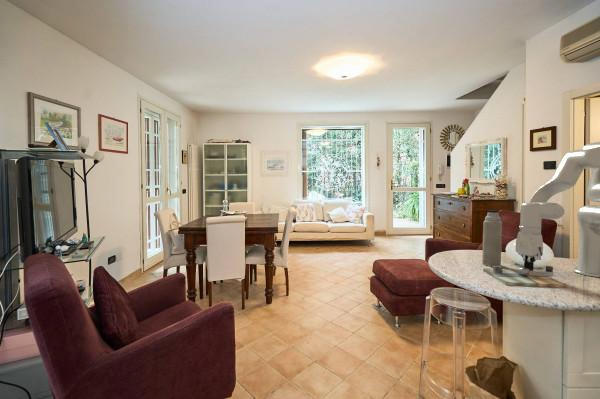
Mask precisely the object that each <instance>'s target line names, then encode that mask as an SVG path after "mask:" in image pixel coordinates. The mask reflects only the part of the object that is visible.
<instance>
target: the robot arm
mask: <svg viewBox="0 0 600 399" xmlns="http://www.w3.org/2000/svg"><path fill="white" fill-rule="evenodd" d="M561 159H562V160H560V162H559V165H558V167H557V169H556V170H555V172H554V173H553V176H552V177H551V179H550V180H548V181H547V182H545V183H544V184H543V185H542V186H540V187H539V188H538V189H536V191H535V192H534V193H533V195H532V196H531V198H530V200H529V202H523V203H522V204H521V205H520V220H519V227H518V228H519V231H518V233H517V235H516V241H515V252H516V253H517V254H518V255H519V256H521V257H522V261H523V263H524V264H523V267H524V268H528V269H529V270H534V266H535V265H534V263H535V262H536V261H541V260H542V256H543V254H544V241H543V235H542V220H543V219H545V220H555V221H556V220H558V219H561V218H562V217H563V216H564V214H565V209H564V207H563V206H562V205H561V204H559V203H556V202H549V200H550V199H551V198H552V197H554V196H556V195H558V194H560V193H562V192H565V191H567V190H570V189H572V188H574V187H575V186H576V184H577V183H578V180H579V178H580V176H581V175H582V173H583V172H584V170H585V169H590V177H589V181H588V186H587V190H586V198H587V199H588V201H590V202H593V203H600V141H595V142H591V143H587V144H585V145H583V147H581V149H575V150H572V151H571V150H570V151H568V152H567V153H565V154H564V156H563V157H562V158H561ZM576 218H577V223H578V248H577V250H578V252H577V253H578V254H577V255H578V256H577V266H575V267H573V268H572V271H573V272H575V274H579V275H583V276H588V277H594V278H600V204H599V205H598V204H587V205H583V206H581V207H580V208H579V209H578V210H577V213H576Z"/></svg>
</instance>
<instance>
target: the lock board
mask: <svg viewBox="0 0 600 399" xmlns="http://www.w3.org/2000/svg"><path fill="white" fill-rule="evenodd" d="M482 270H483V272H485V273H486V274H488V275H489V276H491V277H492V278H494V279H496V280H497V281H498V282H500V283H502V284H503V285H505V286H517V287H518V286H520V287H521V286H523V287H524V286H526V287H541V288H542V287H546V288H547V287H548V288H549V287H550V288H567V284H566V283H563V282H561V281H559V280H557V279H554V278H553V277H549V276H520V275H518V273H519V269H510V268H508V269H507V268H503V266H502V265H501V266H493V267H492V268H485V267H484V268H483V269H482Z"/></svg>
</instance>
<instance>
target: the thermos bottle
mask: <svg viewBox="0 0 600 399" xmlns="http://www.w3.org/2000/svg"><path fill="white" fill-rule="evenodd" d="M499 212H500V211H499V210H496V209H495V210H493V209H488V210H487V214H486V216H485V218H484V221H483V224H482V225H483V226H482V227H483V231H482V232H483V233H482V257H481V258H482V259H481V261H482V265H483V266H486V267H487V266H488V267H491V268H493V266H501V267H502V241H503V240H502V239H503V221H502V220H501V216H500V215H499Z"/></svg>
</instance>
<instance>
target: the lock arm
mask: <svg viewBox="0 0 600 399" xmlns="http://www.w3.org/2000/svg"><path fill="white" fill-rule="evenodd" d="M518 270H519V273H518V275H520V276H548V277H550V278H553V277H554V276H555V275H554V274H555V272H554V266H551V265H546V266H545V269H533V270H529V269H528V268H524V266H523V267H521V266H520V267H518Z"/></svg>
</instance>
